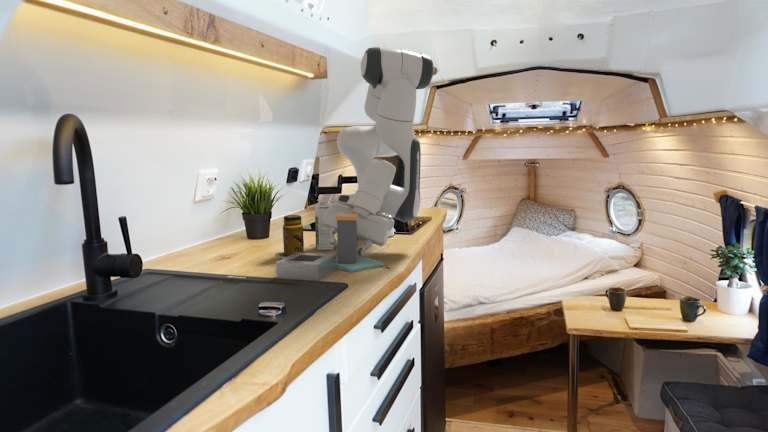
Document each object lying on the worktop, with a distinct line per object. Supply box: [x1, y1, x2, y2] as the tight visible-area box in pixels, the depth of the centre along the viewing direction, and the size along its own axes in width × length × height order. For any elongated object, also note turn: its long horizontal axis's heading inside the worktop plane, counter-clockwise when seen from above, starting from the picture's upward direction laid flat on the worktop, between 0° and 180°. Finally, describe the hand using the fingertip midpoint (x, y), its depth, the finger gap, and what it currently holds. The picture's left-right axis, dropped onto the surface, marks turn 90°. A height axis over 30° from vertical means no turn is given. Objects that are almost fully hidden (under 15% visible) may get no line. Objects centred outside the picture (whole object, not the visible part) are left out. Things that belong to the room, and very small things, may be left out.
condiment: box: [275, 214, 305, 259], centre depth 154 cm, size 7×8×12 cm
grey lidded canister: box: [335, 214, 358, 263], centre depth 141 cm, size 6×6×13 cm
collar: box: [275, 252, 337, 281], centre depth 133 cm, size 12×12×4 cm
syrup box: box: [314, 201, 336, 251], centre depth 163 cm, size 6×6×14 cm
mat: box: [336, 255, 385, 273], centre depth 141 cm, size 11×11×1 cm
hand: (345, 249), depth 147 cm, fingers open, 8 cm apart
